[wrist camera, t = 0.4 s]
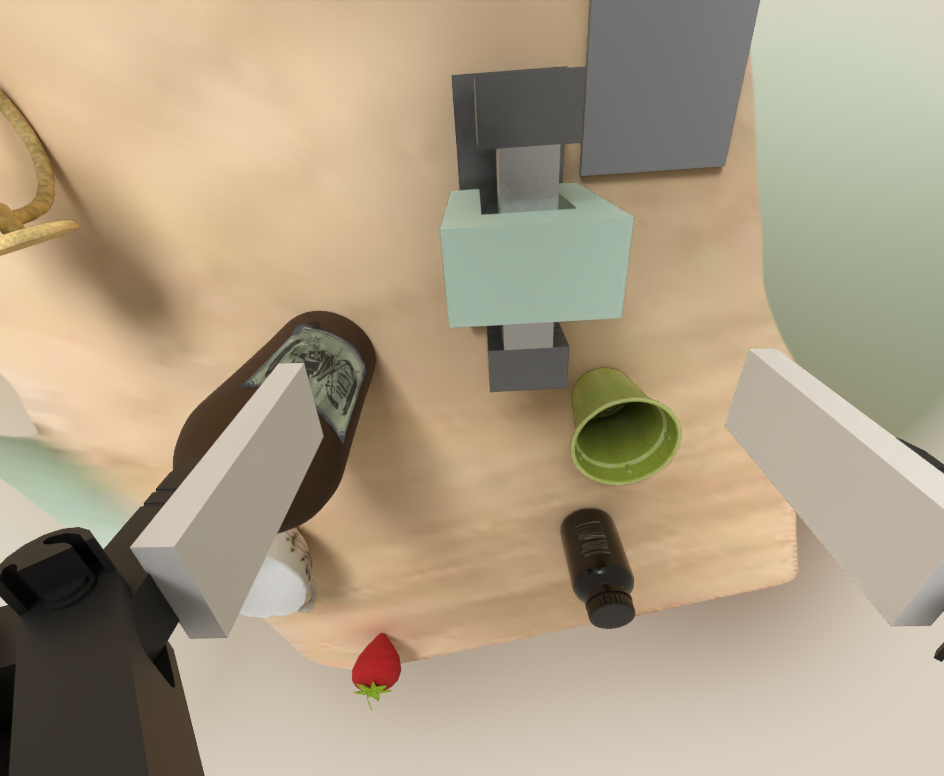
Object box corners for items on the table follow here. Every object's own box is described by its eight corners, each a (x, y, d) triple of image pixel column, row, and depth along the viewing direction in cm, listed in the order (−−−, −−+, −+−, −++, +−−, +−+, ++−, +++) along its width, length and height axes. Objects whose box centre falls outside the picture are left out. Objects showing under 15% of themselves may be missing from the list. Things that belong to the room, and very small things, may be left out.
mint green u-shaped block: (451, 190, 32) (439, 229, 21) (577, 182, 31) (633, 216, 20) (457, 260, 34) (449, 327, 23) (572, 253, 34) (621, 317, 23)
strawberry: (413, 638, 69) (404, 711, 61) (372, 649, 71) (358, 721, 62) (394, 618, 66) (382, 692, 58) (352, 630, 68) (334, 703, 60)
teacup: (205, 522, 56) (168, 579, 49) (275, 482, 52) (245, 537, 45) (292, 584, 62) (270, 641, 55) (359, 552, 59) (344, 609, 52)
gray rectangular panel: (590, -9, 29) (592, -11, 28) (760, -23, 29) (765, -26, 28) (579, 175, 35) (581, 176, 34) (720, 165, 34) (724, 166, 34)
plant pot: (537, 383, 45) (551, 435, 37) (622, 333, 42) (655, 379, 34) (581, 442, 49) (601, 499, 41) (661, 400, 46) (698, 454, 38)
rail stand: (452, 76, 31) (439, 50, 19) (564, 67, 31) (621, 35, 19) (469, 322, 41) (468, 405, 29) (555, 318, 41) (588, 399, 29)
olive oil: (348, 417, 47) (244, 664, 26) (254, 362, 44) (45, 596, 22) (403, 346, 43) (333, 574, 21) (303, 280, 39) (102, 472, 18)
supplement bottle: (550, 536, 57) (567, 628, 47) (573, 500, 53) (597, 591, 43) (597, 548, 58) (624, 639, 48) (623, 513, 55) (658, 604, 44)
